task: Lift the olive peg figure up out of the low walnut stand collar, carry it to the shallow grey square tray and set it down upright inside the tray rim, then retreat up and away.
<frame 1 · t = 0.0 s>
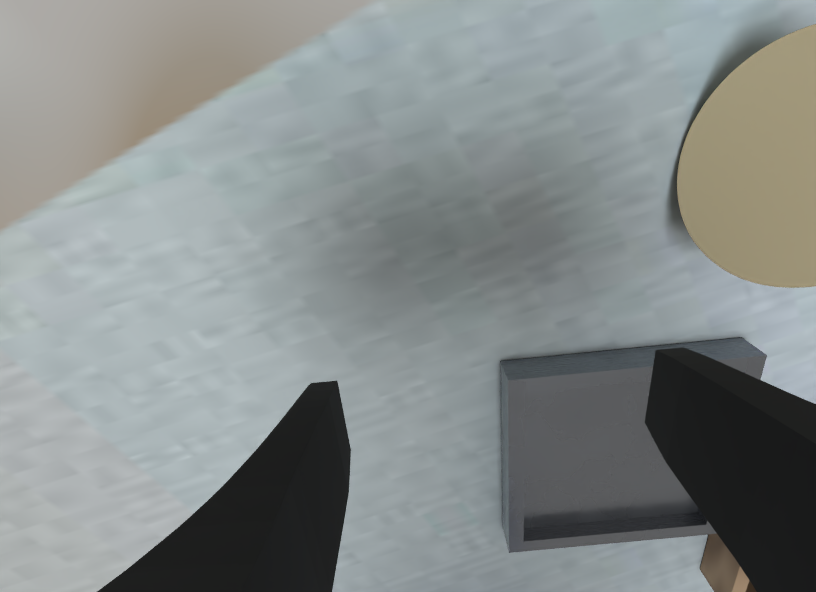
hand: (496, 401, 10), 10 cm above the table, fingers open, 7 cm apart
grey square tray: (610, 442, 24), on the table
walnut stand: (795, 508, 27), on the table
door knob: (799, 155, 19), on the table
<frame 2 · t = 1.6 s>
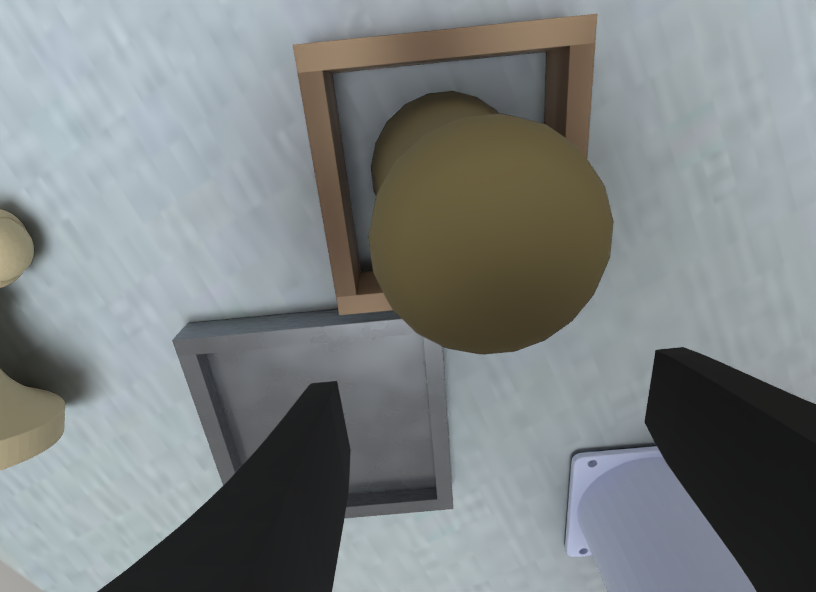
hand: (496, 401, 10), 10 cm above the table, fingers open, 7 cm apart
grey square tray: (331, 412, 23), on the table
walnut stand: (445, 172, 18), on the table
olive peg figure: (444, 171, 19), resting in walnut stand
door knob: (2, 308, 21), on the table
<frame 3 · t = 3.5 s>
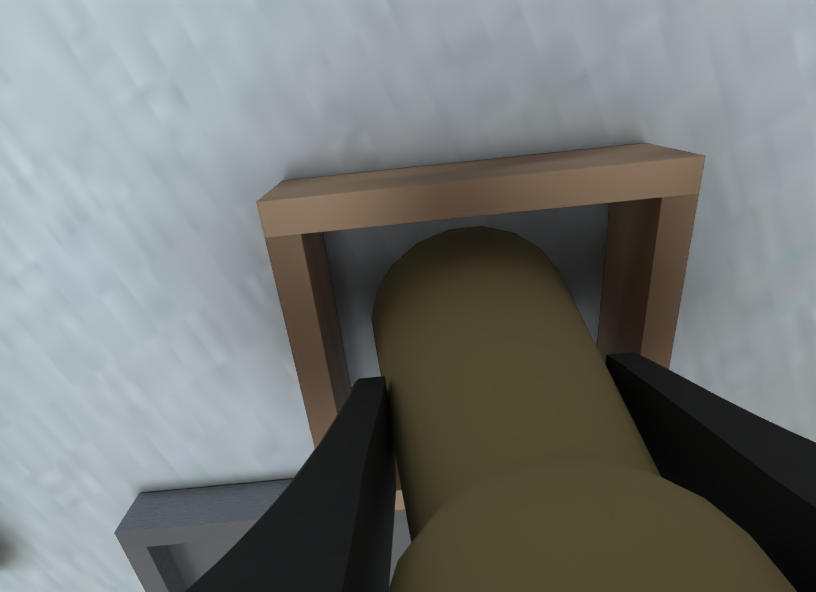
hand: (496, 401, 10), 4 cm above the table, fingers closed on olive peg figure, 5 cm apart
grey square tray: (324, 581, 19), on the table
walnut stand: (470, 322, 14), on the table
olive peg figure: (469, 319, 14), resting in walnut stand, touching gripper
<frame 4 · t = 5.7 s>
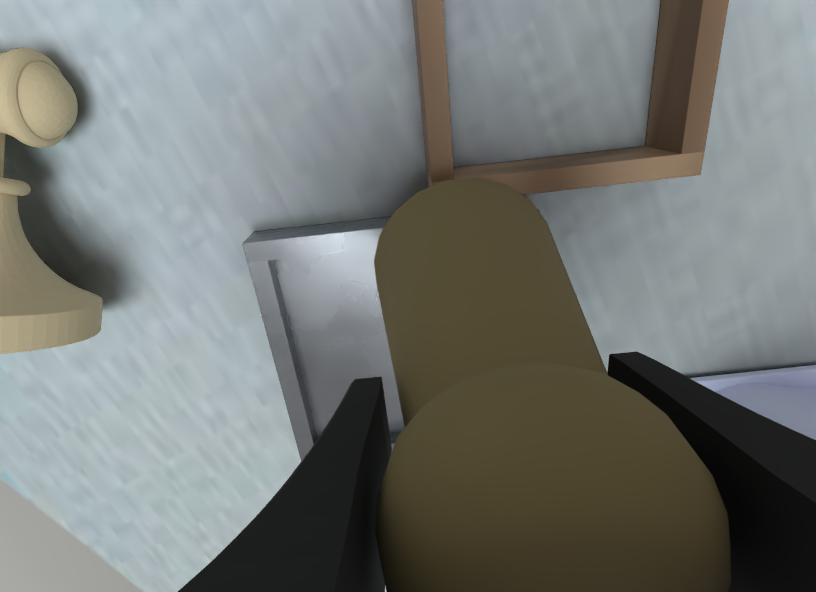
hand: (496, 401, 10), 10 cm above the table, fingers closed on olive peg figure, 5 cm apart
grey square tray: (405, 336, 21), on the table
walnut stand: (547, 44, 17), on the table
olive peg figure: (462, 264, 15), point 4 cm above the table, touching gripper
door knob: (33, 189, 19), on the table
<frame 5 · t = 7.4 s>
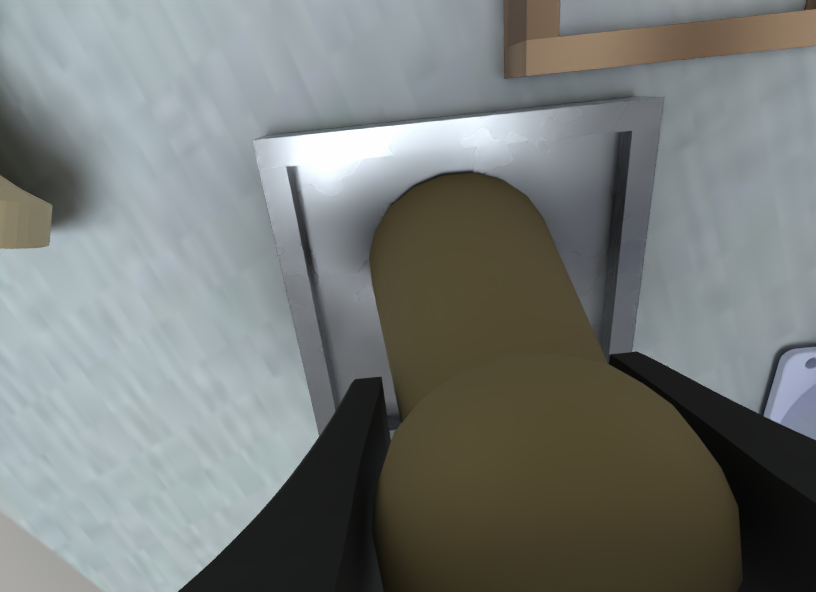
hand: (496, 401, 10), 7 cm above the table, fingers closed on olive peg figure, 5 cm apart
grey square tray: (459, 285, 17), on the table
olive peg figure: (458, 261, 15), point 1 cm above the table, touching gripper, grey square tray
when the fingers open (6 cm above the table, at t = 8.2 s): olive peg figure stays where it is, resting on grey square tray.
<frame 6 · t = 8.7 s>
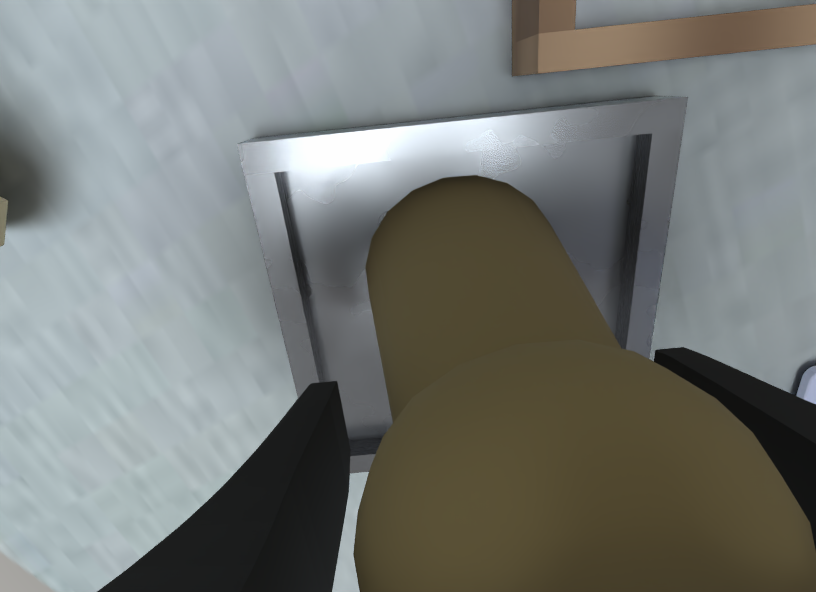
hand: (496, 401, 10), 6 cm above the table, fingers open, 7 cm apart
grey square tray: (462, 298, 15), on the table
olive peg figure: (461, 270, 14), point 1 cm above the table, touching grey square tray
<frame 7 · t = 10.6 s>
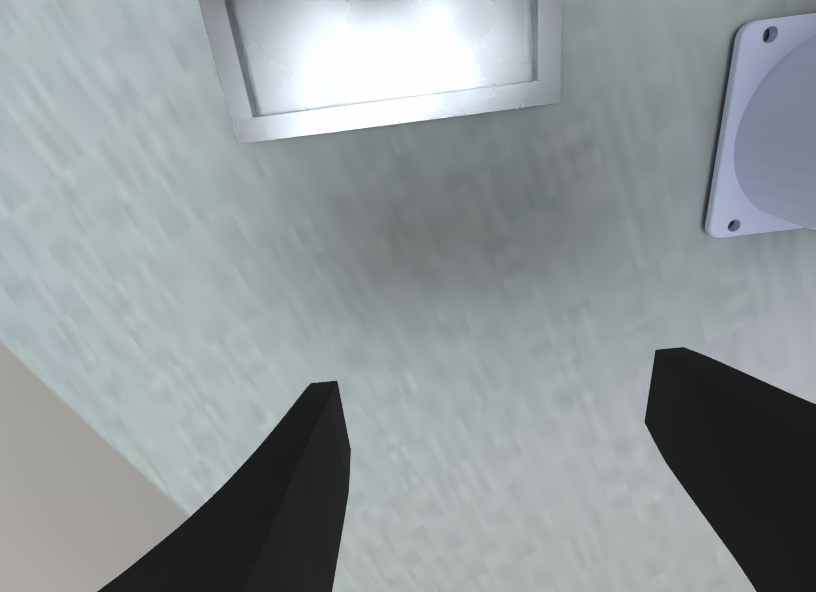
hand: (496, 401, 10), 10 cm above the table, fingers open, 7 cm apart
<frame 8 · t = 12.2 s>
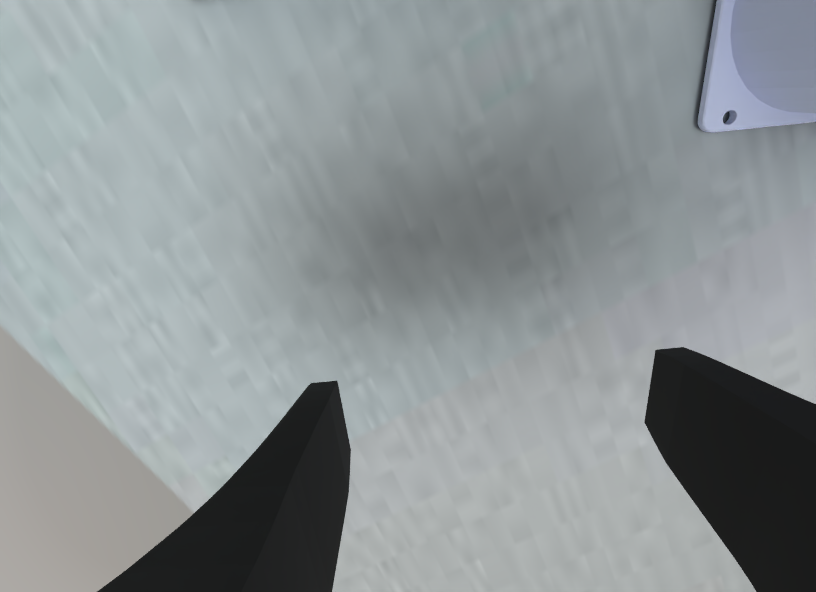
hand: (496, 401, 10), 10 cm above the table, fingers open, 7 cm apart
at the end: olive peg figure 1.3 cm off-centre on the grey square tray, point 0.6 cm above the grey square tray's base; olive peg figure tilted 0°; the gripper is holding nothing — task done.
